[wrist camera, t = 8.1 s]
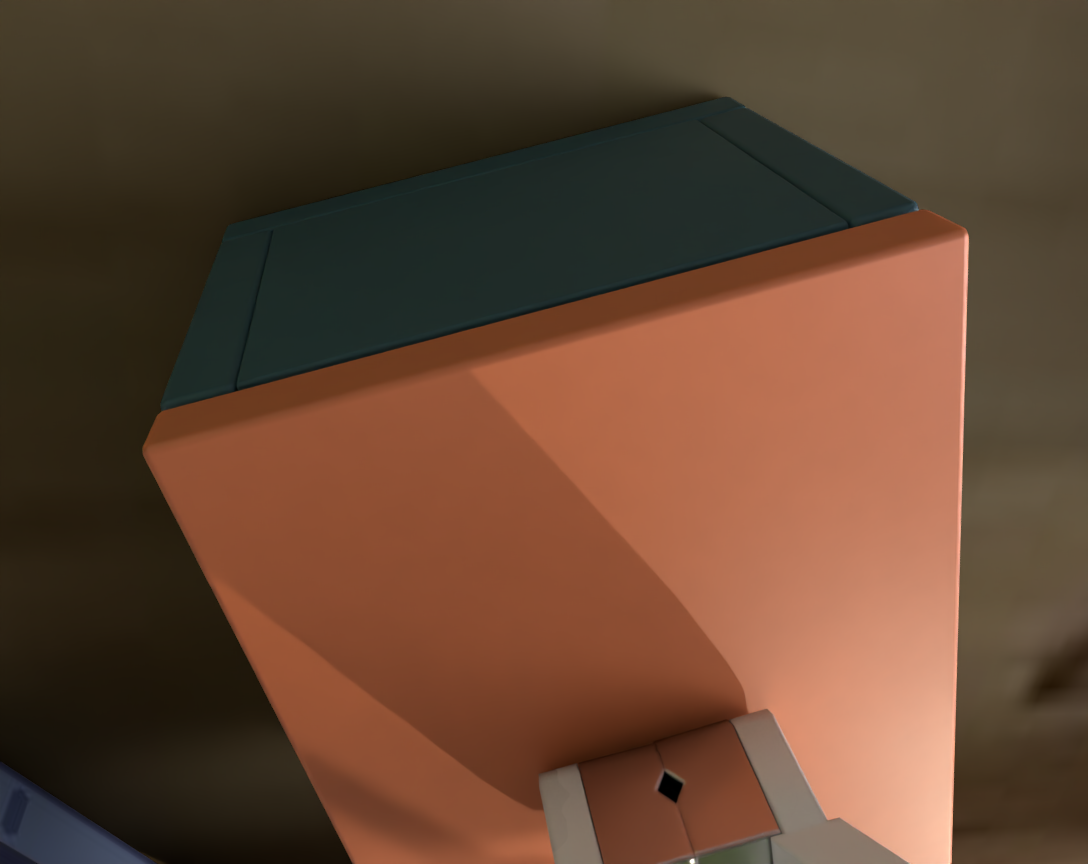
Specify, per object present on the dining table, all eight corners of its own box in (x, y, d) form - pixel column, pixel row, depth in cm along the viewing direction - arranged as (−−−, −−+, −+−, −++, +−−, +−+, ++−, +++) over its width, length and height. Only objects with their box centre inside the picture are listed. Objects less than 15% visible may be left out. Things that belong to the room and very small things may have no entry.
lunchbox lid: (924, 888, 15) (951, 935, 15) (458, 1027, 15) (462, 1083, 14) (926, 204, 9) (973, 228, 9) (154, 409, 9) (136, 450, 8)
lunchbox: (775, 619, 20) (908, 849, 16) (427, 718, 20) (450, 984, 15) (729, 94, 14) (923, 202, 9) (225, 224, 14) (156, 405, 9)
